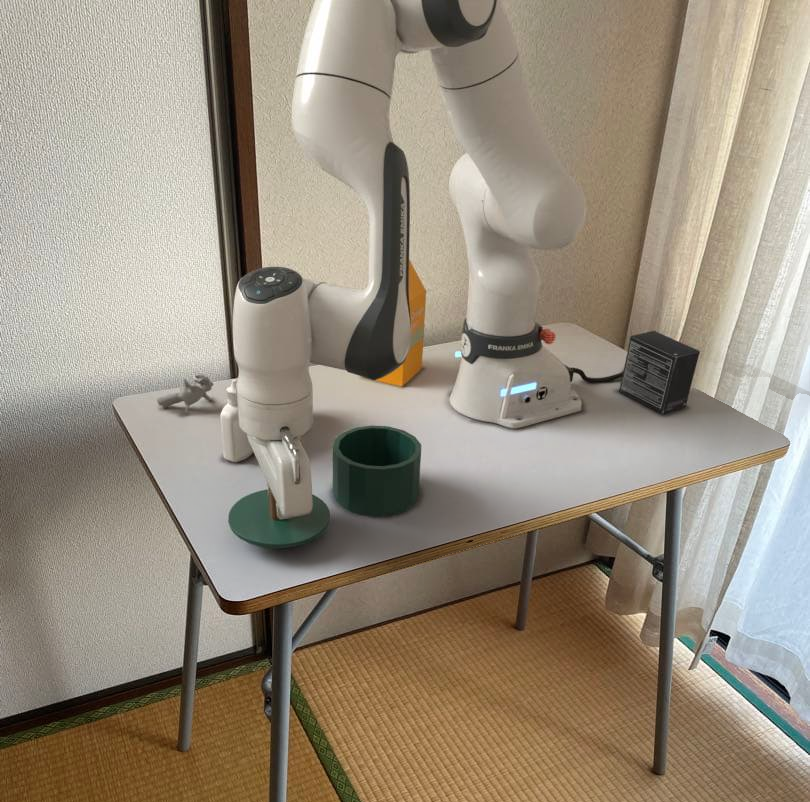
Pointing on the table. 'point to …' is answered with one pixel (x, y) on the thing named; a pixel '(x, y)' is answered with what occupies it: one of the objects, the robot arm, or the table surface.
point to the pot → (376, 470)
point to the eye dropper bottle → (233, 429)
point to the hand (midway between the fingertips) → (279, 507)
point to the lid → (275, 522)
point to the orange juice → (412, 333)
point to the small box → (658, 371)
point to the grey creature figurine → (188, 393)
